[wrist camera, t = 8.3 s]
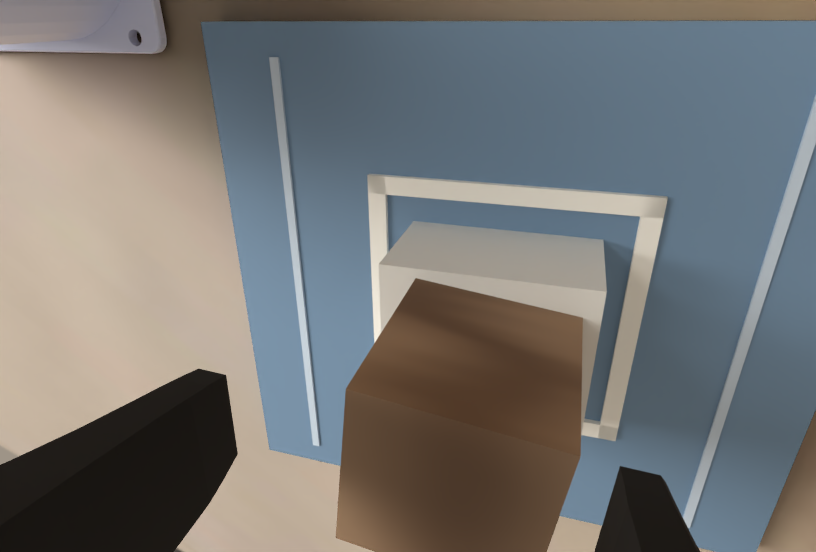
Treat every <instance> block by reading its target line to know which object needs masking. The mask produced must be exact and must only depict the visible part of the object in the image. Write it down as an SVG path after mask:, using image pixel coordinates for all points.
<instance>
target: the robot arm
mask: <svg viewBox="0 0 816 552" xmlns="http://www.w3.org/2000/svg"><path fill="white" fill-rule="evenodd" d="M137 32H139V33H140V35H141V38H142V42H141V43H140V42H139V41H138V39H137ZM166 44H167V37H166V32H165V27H164V22H163V16H162V11H161V6H160V0H0V51H20V52H78V53H136V54H154V53H160V52H162V51H163V50H164V49H165V47H166ZM237 454H238V453H237V447H236V440H235V433H234V426H233V419H232V413H231V406H230V399H229V392H228V386H227V379H226V375H223V374H219V373H215V372H210V371H206V370H202V369H197V370H195V371H193V372H190V373H188V374H186V375H184V376H182V377H180V378H177V379H175V380H173V381H171V382H169V383H167V384H165V385H163V386H161V387H159V388H157V389H155V390H154V391H152V392H150V393H148V394H146V395H144V396H142V397H140V398H138V399H136V400H134V401H132V402H130V403H128V404H126V405H124V406H122V407H120V408H118V409H116V410H114V411H112V412H110V413H108V414H106V415H104V416H103V417H101V418H99V419H97V420H95V421H93V422H91V423H89V424H87V425H85V426H83V427H81V428H79V429H77V430H75V431H72V432H70V433H68V434H66V435H64V436H62V437H60V438H58V439H55V440H53V441H51V442H49V443H47V444H45V445H43V446H40V447H38V448H36V449H34V450H32V451H30V452H28V453H25V454H23V455H21V456H19V457H17V458H15V459H13V460H11V461H8V462H6V463H4V464H1V465H0V552H174V550H175V549H176V548H177V546H178V545H179V544H180V542H181V541H182V540H183V538H184V537H185V536H186V534H187V533H188V532H189V530H190V529H191V528H192V526H193V525H194V524H195V522H196V521H197V519H198V518H199V517H200V515H201V514H202V513H203V511H204V510H205V509H206V507H207V506H208V504H209V503H210V501H211V500H212V498H213V496H214V495H215V493H216V491H217V490H218V488H219V486H220V485H221V483H222V481H223V480H224V478H225V476H226V474H227V472H228V471H229V469H230V467H231V465H232V463H233V461H234V460H235V458H236V456H237ZM595 552H700V551H699V549H698V547H697V545H696V543H695V541H694V539H693V537H692V535H691V533H690V531H689V529H688V527H687V525H686V523H685V521H684V519H683V517H682V515H681V513H680V511H679V509H678V507H677V505H676V503H675V501H674V499H673V496H672V494H671V492H670V490H669V488H668V486H667V484H666V482H665V480H664V479H663V478H662V476H661V475H657V474H653V473H649V472H644V471H640V470H636V469H631V468H627V467H623V466H620V467H619V471H618V474H617V478H616V481H615V484H614V488H613V491H612V494H611V498H610V501H609V505H608V508H607V511H606V515H605V518H604V521H603V525H602V528H601V532H600V535H599V538H598V542H597V545H596V548H595Z"/></svg>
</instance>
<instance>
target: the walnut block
mask: <svg viewBox="0 0 816 552" xmlns="http://www.w3.org/2000/svg"><path fill="white" fill-rule="evenodd" d="M582 339H583V318H582V317H578V316H574V315H570V314H565V313H561V312H557V311H553V310H548V309H544V308H540V307H536V306H532V305H527V304H523V303H519V302H515V301H511V300H506V299H502V298H498V297H494V296H489V295H485V294H481V293H477V292H473V291H468V290H464V289H460V288H456V287H451V286H447V285H443V284H439V283H435V282H430V281H426V280H422V279H418V278H415V280H414V282H413V283H412V285H411V286H410V288H409V289H408V291H407V293H406V294H405V296H404V297H403V299H402V301H401V302H400V304H399V305H398V307H397V308H396V310H395V312H394V313H393V315H392V316H391V318H390V320H389V321H388V323H387V324H386V326H385V327H384V329H383V331H382V332H381V334H380V335H379V337H378V338H377V340H376V342H375V343H374V345H373V346H372V348H371V350H370V351H369V353H368V354H367V356H366V357H365V359H364V361H363V362H362V364H361V365H360V367H359V369H358V370H357V372H356V373H355V375H354V376H353V378H352V380H351V381H350V383H349V384H348V386H347V387H346V392H345V407H344V422H343V437H342V452H341V467H340V482H339V497H338V512H337V527H336V538H338V539H341V540H343V541H346V542H349V543H352V544H355V545H358V546H361V547H363V548H366V549H369V550H372V551H375V552H547V549H548V546H549V543H550V541H551V538H552V535H553V532H554V529H555V527H556V524H557V521H558V518H559V515H560V513H561V510H562V507H563V504H564V502H565V499H566V496H567V493H568V490H569V488H570V485H571V482H572V479H573V476H574V474H575V471H576V468H577V465H578V462H579V460H580V457H581V401H582Z"/></svg>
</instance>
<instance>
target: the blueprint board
mask: <svg viewBox="0 0 816 552" xmlns="http://www.w3.org/2000/svg"><path fill="white" fill-rule="evenodd" d="M201 27H202V33H203V40H204V46H205V52H206V58H207V64H208V71H209V77H210V83H211V89H212V95H213V102H214V108H215V114H216V120H217V126H218V133H219V139H220V145H221V151H222V157H223V164H224V170H225V176H226V182H227V188H228V195H229V201H230V207H231V213H232V219H233V226H234V232H235V238H236V244H237V250H238V257H239V263H240V269H241V275H242V281H243V288H244V294H245V300H246V306H247V312H248V319H249V325H250V331H251V337H252V343H253V350H254V356H255V362H256V368H257V374H258V381H259V387H260V393H261V399H262V405H263V412H264V418H265V424H266V430H267V436H268V443H269V449H270V450H274V451H278V452H283V453H287V454H291V455H296V456H300V457H304V458H309V459H313V460H318V461H322V462H326V463H331V464H335V465H339V466H341V452H342V437H343V422H344V407H345V392H346V387H347V386H348V384H349V383H350V381H351V380H352V378H353V376H354V375H355V373H356V372H357V370H358V369H359V367H360V365H361V364H362V362H363V361H364V359H365V357H366V356H367V354H368V353H369V351H370V350H371V348H372V346H373V345H374V343H375V342H376V340H377V338H378V337H379V335H380V334H381V317H380V288H379V263H380V262H381V261H382V259H383V258H384V257H385V256H386V254H387V253H388V252H389V251H390V250H391V248H392V247H393V246H394V245H395V243H396V242H397V241H398V240H399V238H400V237H401V236H402V235H403V233H404V232H405V231H406V230H407V229H408V227H409V226H410V225H411V224H412V222H413V221H418V222H429V223H439V224H449V225H459V226H469V227H479V228H490V229H500V230H510V231H520V232H530V233H540V234H551V235H561V236H571V237H581V238H591V239H601V240H603V242H604V257H605V272H606V287H607V294H606V299H605V305H604V311H603V316H602V322H601V328H600V333H599V339H598V344H597V350H596V356H595V361H594V367H593V373H592V378H591V384H590V390H589V395H588V401H587V406H586V412H585V418H584V423H583V429H582V435H581V457H580V460H579V462H578V465H577V468H576V471H575V474H574V476H573V479H572V482H571V485H570V488H569V490H568V493H567V496H566V499H565V502H564V504H563V507H562V510H561V513H560V515H559V516H563V517H567V518H571V519H576V520H580V521H584V522H589V523H593V524H598V525H603V521H604V518H605V515H606V511H607V508H608V505H609V501H610V498H611V494H612V491H613V488H614V484H615V481H616V478H617V474H618V471H619V467H620V466H623V467H627V468H631V469H636V470H640V471H644V472H649V473H653V474H657V475H661V476H662V478H663V479H664V480H665V482H666V484H667V486H668V488H669V490H670V492H671V494H672V496H673V499H674V501H675V503H676V505H677V507H678V509H679V511H680V513H681V515H682V517H683V519H684V521H685V523H686V525H687V527H688V529H689V531H690V533H691V535H692V537H693V539H694V541H695V543H696V545H697V547H698V548H703V549H707V550H711V551H716V552H756V551H757V549H758V546H759V544H760V542H761V539H762V537H763V535H764V532H765V530H766V527H767V525H768V523H769V520H770V518H771V515H772V513H773V511H774V508H775V506H776V503H777V501H778V499H779V496H780V494H781V492H782V489H783V487H784V484H785V482H786V480H787V477H788V475H789V472H790V470H791V468H792V465H793V463H794V460H795V458H796V456H797V453H798V451H799V449H800V446H801V444H802V441H803V439H804V437H805V434H806V432H807V429H808V427H809V425H810V422H811V420H812V417H813V415H814V413H815V410H816V20H678V21H211V22H201Z"/></svg>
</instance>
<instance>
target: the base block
mask: <svg viewBox="0 0 816 552" xmlns="http://www.w3.org/2000/svg"><path fill="white" fill-rule="evenodd" d="M415 278H418V279H422V280H426V281H430V282H435V283H439V284H443V285H447V286H451V287H456V288H460V289H464V290H468V291H473V292H477V293H481V294H485V295H489V296H494V297H498V298H502V299H506V300H511V301H515V302H519V303H523V304H527V305H532V306H536V307H540V308H544V309H548V310H553V311H557V312H561V313H565V314H570V315H574V316H578V317H582V318H583V339H582V401H581V435H582V429H583V423H584V418H585V412H586V406H587V401H588V395H589V390H590V384H591V378H592V373H593V367H594V361H595V356H596V350H597V344H598V339H599V333H600V328H601V322H602V316H603V311H604V305H605V299H606V294H607V287H606V272H605V257H604V242H603V240H601V239H591V238H581V237H571V236H561V235H551V234H540V233H530V232H520V231H510V230H500V229H490V228H479V227H469V226H459V225H449V224H439V223H429V222H418V221H413V222H412V224H411V225H410V226H409V227H408V229H407V230H406V231H405V232H404V233H403V235H402V236H401V237H400V238H399V240H398V241H397V242H396V243H395V245H394V246H393V247H392V248H391V250H390V251H389V252H388V253H387V254H386V256H385V257H384V258H383V259H382V261H381V262H380V263H379V288H380V317H381V332H382V331H383V329H384V327H385V326H386V324H387V323H388V321H389V320H390V318H391V316H392V315H393V313H394V312H395V310H396V308H397V307H398V305H399V304H400V302H401V301H402V299H403V297H404V296H405V294H406V293H407V291H408V289H409V288H410V286H411V285H412V283H413V282H414V280H415Z"/></svg>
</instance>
